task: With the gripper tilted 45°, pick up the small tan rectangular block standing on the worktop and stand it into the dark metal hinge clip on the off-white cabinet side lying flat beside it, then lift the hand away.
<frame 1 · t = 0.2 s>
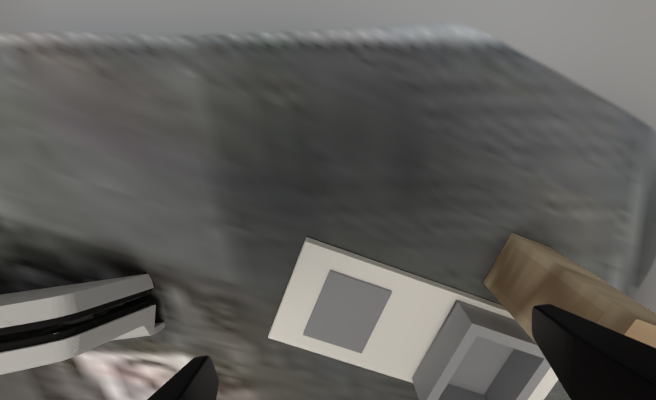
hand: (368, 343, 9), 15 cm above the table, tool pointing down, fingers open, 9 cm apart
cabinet: (467, 346, 26), on the table
hinge: (59, 297, 26), on the table
tan rectangular block: (516, 265, 24), on the table
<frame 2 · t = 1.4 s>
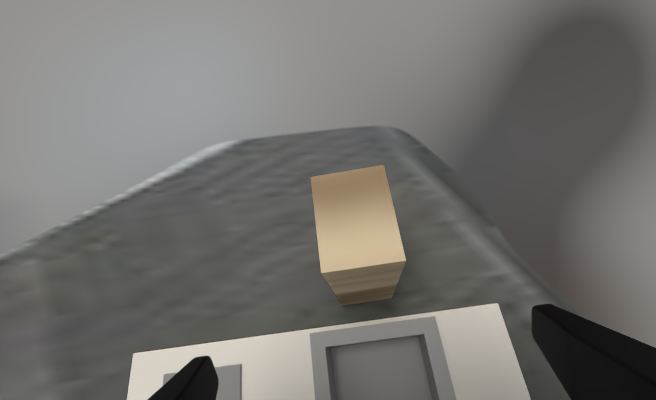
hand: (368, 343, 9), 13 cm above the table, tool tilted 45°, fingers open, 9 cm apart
tan rectangular block: (361, 269, 22), on the table
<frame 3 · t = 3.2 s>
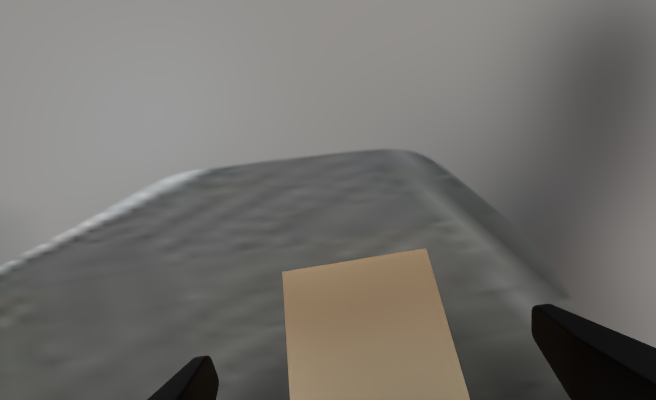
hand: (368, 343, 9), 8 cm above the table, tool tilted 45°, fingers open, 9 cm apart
tan rectangular block: (373, 366, 15), on the table
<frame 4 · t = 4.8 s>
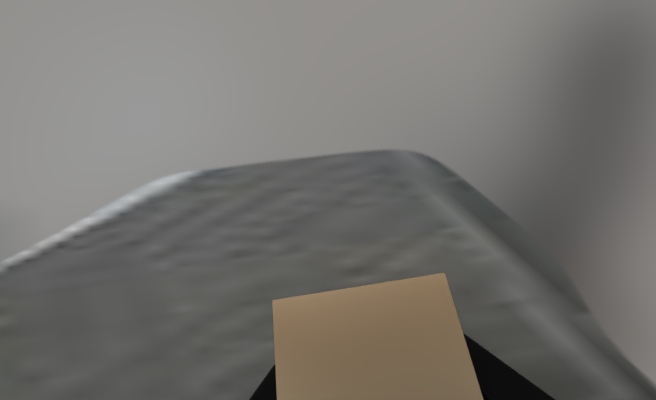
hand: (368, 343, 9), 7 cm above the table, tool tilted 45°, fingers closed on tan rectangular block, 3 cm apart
tan rectangular block: (376, 386, 14), on the table, touching gripper
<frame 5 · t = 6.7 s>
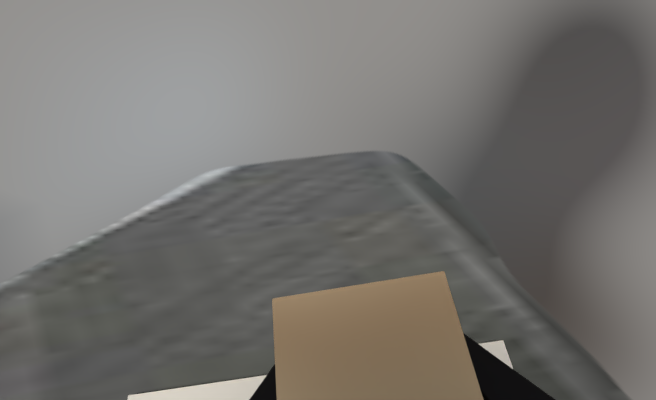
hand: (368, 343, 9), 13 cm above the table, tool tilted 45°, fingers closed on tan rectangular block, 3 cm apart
tan rectangular block: (376, 385, 14), point 7 cm above the table, touching gripper
when the fingers open (9 cm above the table, at t = 8.8 s): tan rectangular block drops 1 cm, resting on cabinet.
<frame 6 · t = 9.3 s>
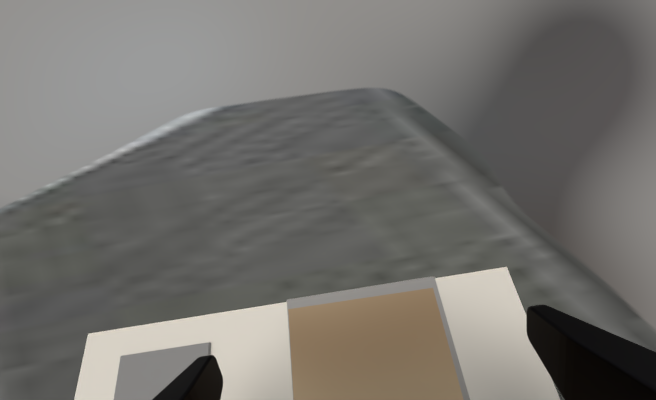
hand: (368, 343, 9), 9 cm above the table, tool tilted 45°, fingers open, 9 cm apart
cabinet: (376, 382, 16), on the table
tan rectangular block: (375, 383, 15), point 1 cm above the table, touching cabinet
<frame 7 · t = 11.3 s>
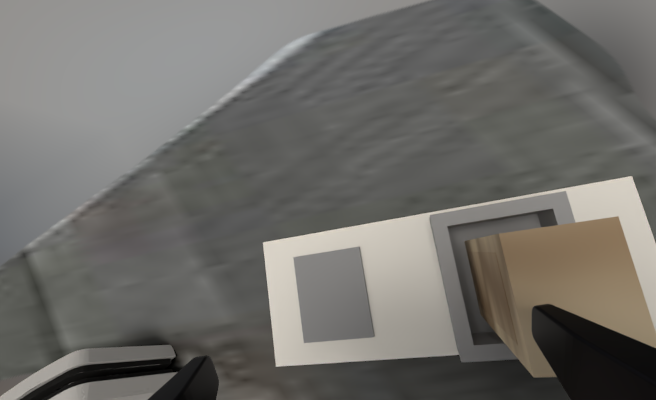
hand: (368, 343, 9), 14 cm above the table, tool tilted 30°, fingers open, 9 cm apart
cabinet: (498, 272, 20), on the table
tan rectangular block: (502, 273, 19), point 1 cm above the table, touching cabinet
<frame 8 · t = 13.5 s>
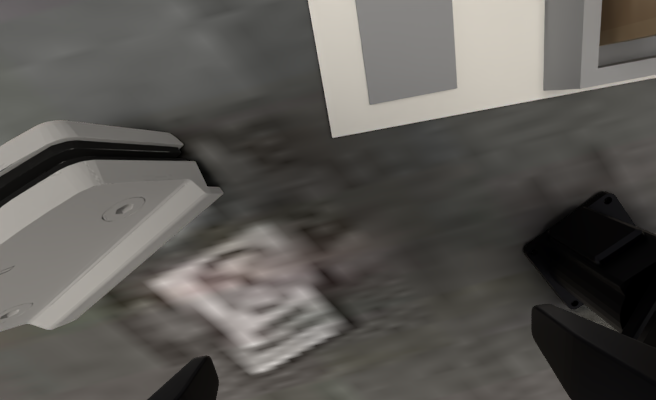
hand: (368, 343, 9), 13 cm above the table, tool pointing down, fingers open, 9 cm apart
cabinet: (599, 4, 18), on the table
hinge: (105, 219, 22), on the table
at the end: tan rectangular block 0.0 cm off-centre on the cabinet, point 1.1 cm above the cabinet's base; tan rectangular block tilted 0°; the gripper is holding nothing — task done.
